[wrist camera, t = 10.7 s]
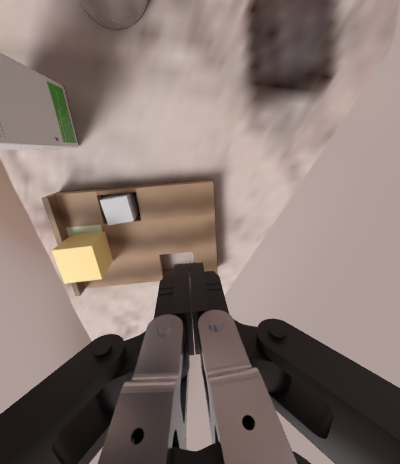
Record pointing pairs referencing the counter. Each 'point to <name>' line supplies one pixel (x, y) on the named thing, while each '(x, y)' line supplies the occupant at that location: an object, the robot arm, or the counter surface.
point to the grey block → (119, 208)
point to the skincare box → (32, 110)
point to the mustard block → (83, 257)
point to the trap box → (141, 228)
